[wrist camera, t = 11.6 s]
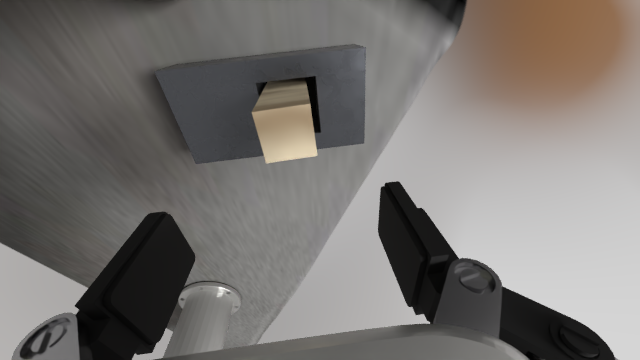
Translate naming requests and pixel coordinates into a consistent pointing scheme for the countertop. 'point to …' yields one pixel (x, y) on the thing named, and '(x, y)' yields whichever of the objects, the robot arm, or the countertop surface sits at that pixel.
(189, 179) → the countertop surface
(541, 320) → the robot arm
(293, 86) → the peg
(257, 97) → the rail
